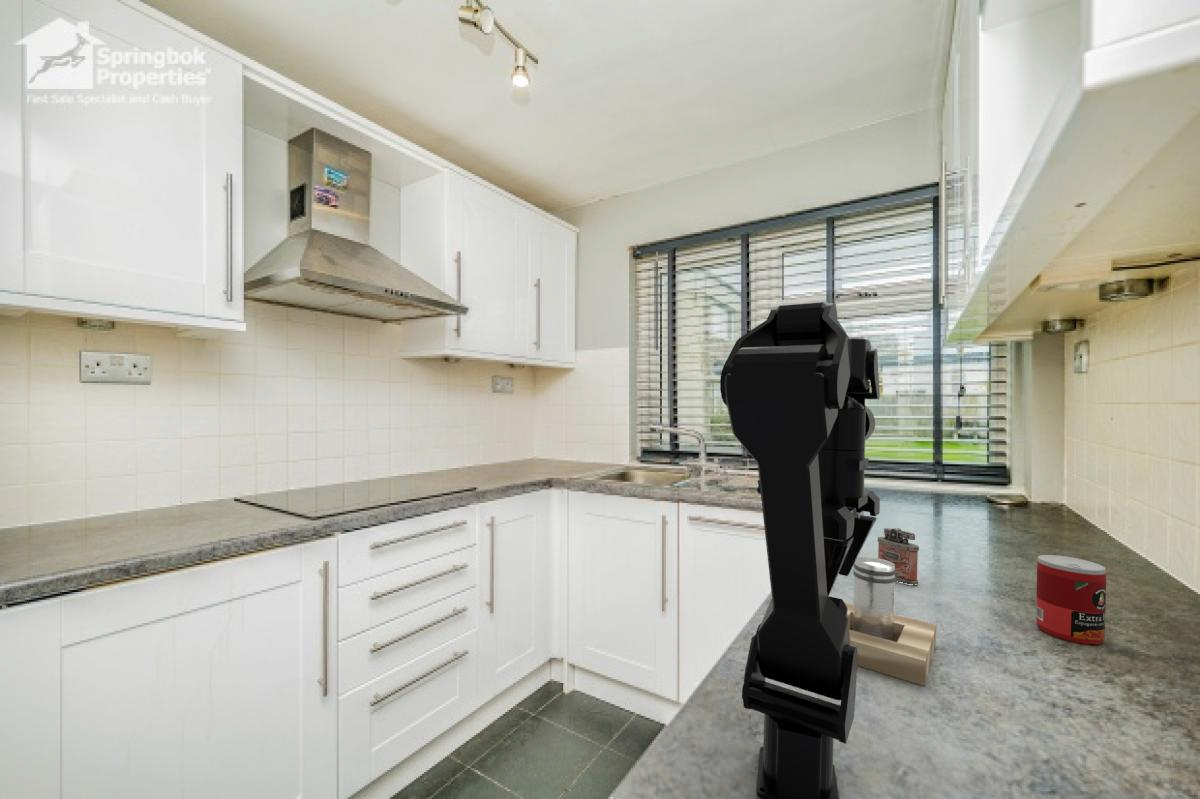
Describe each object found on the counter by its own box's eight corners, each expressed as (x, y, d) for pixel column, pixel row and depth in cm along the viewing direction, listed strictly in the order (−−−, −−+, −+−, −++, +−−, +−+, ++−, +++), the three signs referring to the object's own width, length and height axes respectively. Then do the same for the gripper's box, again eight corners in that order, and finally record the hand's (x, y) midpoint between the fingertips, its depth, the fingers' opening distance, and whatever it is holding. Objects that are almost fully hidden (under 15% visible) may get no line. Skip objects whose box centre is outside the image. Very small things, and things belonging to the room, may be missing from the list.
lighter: (872, 574, 106) (873, 525, 106) (883, 572, 107) (885, 523, 107) (910, 587, 98) (912, 534, 98) (922, 584, 100) (923, 533, 100)
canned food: (1082, 648, 74) (1084, 571, 74) (1023, 625, 82) (1024, 555, 82) (1118, 643, 76) (1120, 568, 76) (1057, 621, 84) (1058, 553, 84)
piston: (902, 657, 70) (904, 568, 70) (865, 657, 69) (867, 567, 69) (878, 639, 75) (880, 556, 75) (844, 639, 75) (846, 556, 75)
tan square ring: (925, 686, 62) (925, 661, 62) (805, 649, 71) (805, 627, 71) (936, 645, 74) (936, 624, 74) (831, 618, 82) (831, 599, 82)
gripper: (791, 441, 72) (788, 553, 72) (737, 447, 57) (734, 589, 57) (881, 446, 65) (878, 571, 65) (847, 455, 50) (843, 617, 50)
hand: (833, 584), depth 59 cm, fingers open, 9 cm apart
